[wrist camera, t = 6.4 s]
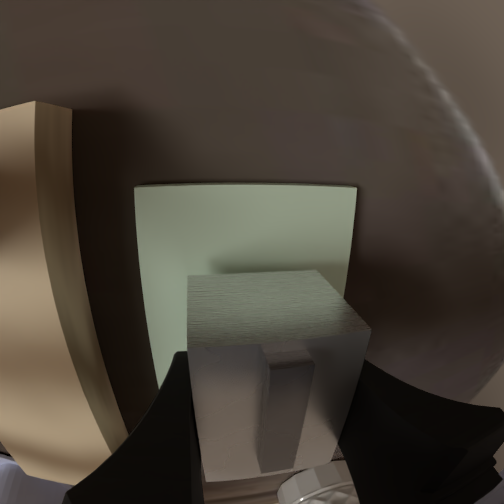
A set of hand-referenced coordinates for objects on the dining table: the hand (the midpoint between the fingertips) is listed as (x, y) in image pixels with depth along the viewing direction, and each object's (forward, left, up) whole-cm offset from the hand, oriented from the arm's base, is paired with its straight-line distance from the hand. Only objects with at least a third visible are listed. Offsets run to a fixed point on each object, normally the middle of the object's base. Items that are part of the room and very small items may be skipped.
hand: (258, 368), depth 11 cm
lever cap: (0, 0, -1) cm, 1 cm away
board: (0, 0, -3) cm, 3 cm away
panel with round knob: (0, +10, -3) cm, 10 cm away
